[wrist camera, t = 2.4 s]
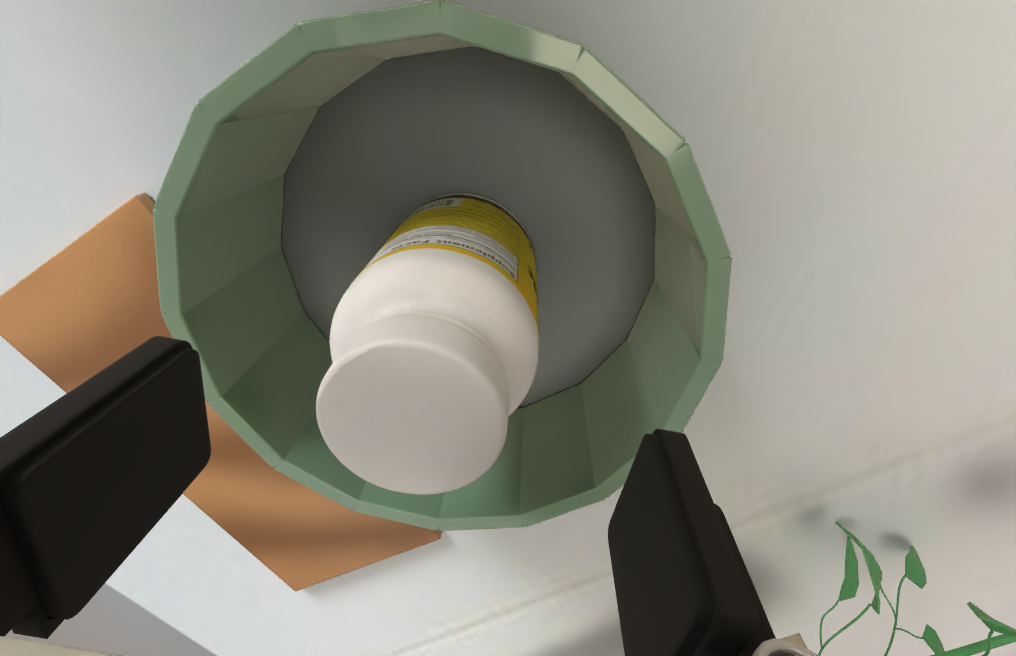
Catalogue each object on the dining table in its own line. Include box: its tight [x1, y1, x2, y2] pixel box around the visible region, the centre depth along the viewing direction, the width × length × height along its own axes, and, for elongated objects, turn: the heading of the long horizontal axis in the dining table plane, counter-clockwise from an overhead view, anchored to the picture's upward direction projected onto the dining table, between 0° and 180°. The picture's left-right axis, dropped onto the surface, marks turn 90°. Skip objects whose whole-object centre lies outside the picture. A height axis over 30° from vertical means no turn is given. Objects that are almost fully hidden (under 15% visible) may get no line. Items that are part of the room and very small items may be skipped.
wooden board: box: [0, 193, 442, 591], centre depth 23 cm, size 20×10×1 cm, turn 30°
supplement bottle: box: [316, 193, 539, 495], centre depth 14 cm, size 5×5×10 cm
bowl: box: [153, 0, 732, 531], centre depth 16 cm, size 15×15×6 cm
